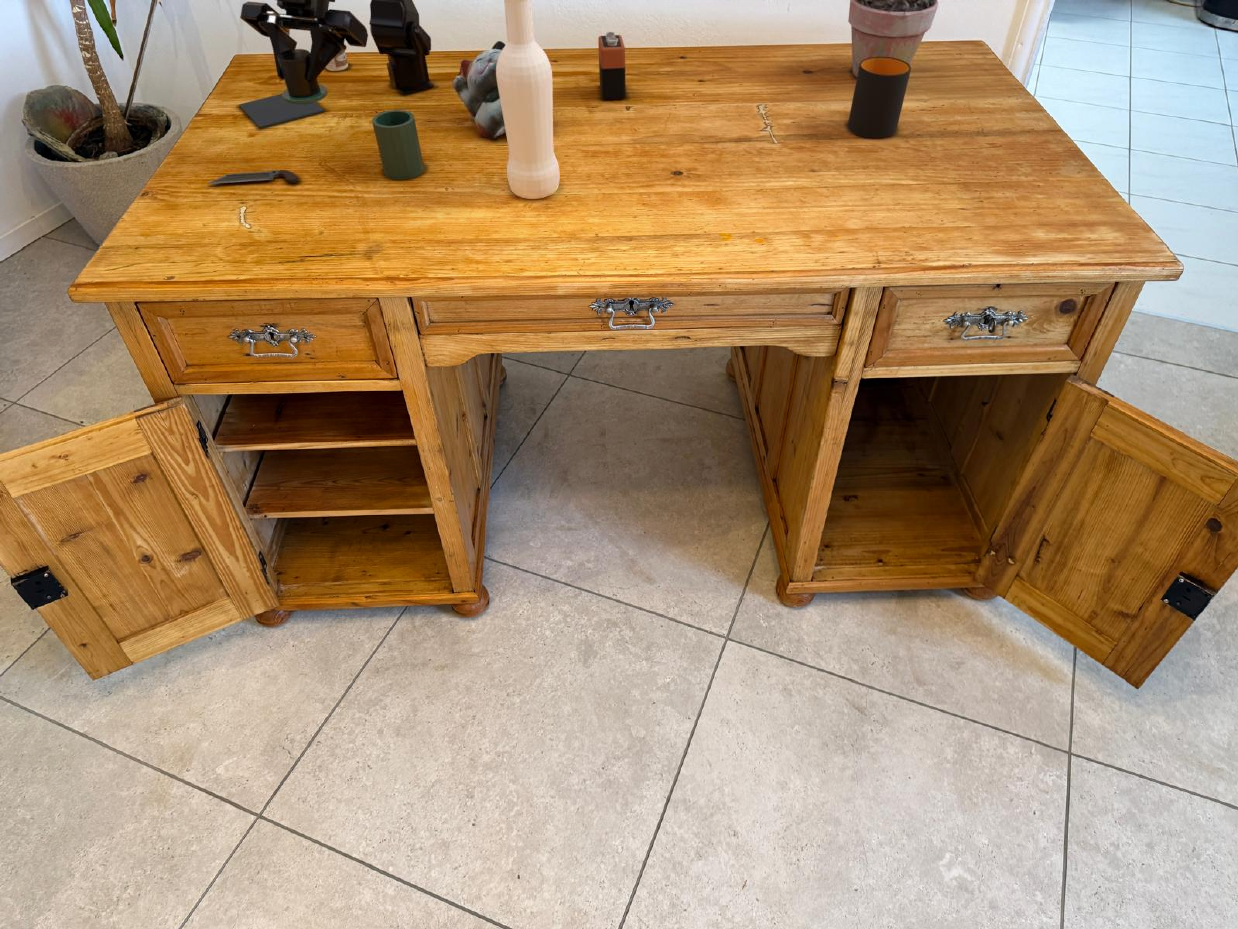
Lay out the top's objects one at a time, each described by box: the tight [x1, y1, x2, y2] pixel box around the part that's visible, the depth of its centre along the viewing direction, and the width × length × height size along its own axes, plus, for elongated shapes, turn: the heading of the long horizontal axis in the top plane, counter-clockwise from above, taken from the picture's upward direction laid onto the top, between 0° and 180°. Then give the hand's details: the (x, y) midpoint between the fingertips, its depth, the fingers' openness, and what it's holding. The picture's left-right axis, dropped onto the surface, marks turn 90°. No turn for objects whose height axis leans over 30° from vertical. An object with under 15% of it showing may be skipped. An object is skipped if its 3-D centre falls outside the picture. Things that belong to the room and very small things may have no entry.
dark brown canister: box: [278, 48, 329, 105], centre depth 125 cm, size 7×7×7 cm
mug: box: [847, 57, 912, 140], centre depth 138 cm, size 8×12×10 cm
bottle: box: [496, 0, 561, 200], centre depth 116 cm, size 8×8×30 cm
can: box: [371, 109, 425, 181], centre depth 129 cm, size 6×6×8 cm
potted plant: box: [847, 0, 939, 78], centre depth 148 cm, size 18×20×25 cm
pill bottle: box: [325, 50, 349, 72], centre depth 160 cm, size 4×4×8 cm
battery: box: [597, 31, 627, 101], centre depth 148 cm, size 4×7×10 cm, turn 6°
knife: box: [208, 169, 299, 185], centre depth 129 cm, size 14×4×1 cm, turn 97°
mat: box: [238, 93, 325, 130], centre depth 149 cm, size 12×12×1 cm
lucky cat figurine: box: [451, 40, 506, 140], centre depth 139 cm, size 15×12×14 cm
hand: (295, 79), depth 124 cm, fingers closed on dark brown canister, 5 cm apart
